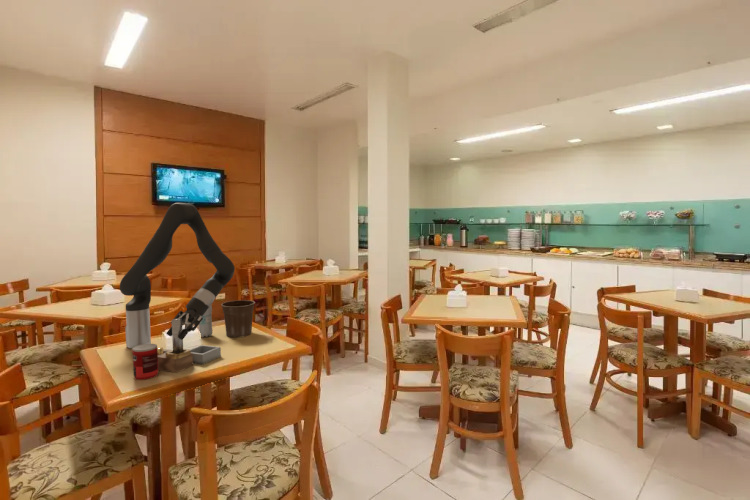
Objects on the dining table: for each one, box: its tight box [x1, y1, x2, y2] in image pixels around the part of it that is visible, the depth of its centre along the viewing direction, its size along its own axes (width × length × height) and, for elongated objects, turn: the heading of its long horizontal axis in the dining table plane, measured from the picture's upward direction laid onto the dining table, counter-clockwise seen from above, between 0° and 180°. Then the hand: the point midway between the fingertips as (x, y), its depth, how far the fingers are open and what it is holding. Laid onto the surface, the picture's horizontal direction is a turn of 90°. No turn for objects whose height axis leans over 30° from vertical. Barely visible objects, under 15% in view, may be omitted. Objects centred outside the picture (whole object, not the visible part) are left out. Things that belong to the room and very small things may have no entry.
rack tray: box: [190, 344, 222, 365], centre depth 159 cm, size 10×10×4 cm
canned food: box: [132, 343, 159, 381], centre depth 142 cm, size 8×8×11 cm
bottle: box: [198, 305, 213, 338], centre depth 192 cm, size 7×7×20 cm
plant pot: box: [220, 299, 256, 338], centre depth 195 cm, size 16×16×16 cm
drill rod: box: [171, 318, 184, 354], centre depth 149 cm, size 4×4×14 cm
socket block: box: [158, 348, 194, 374], centre depth 151 cm, size 16×8×6 cm, turn 70°
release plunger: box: [157, 347, 164, 355], centre depth 153 cm, size 3×3×6 cm
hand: (174, 336), depth 148 cm, fingers open, 8 cm apart
